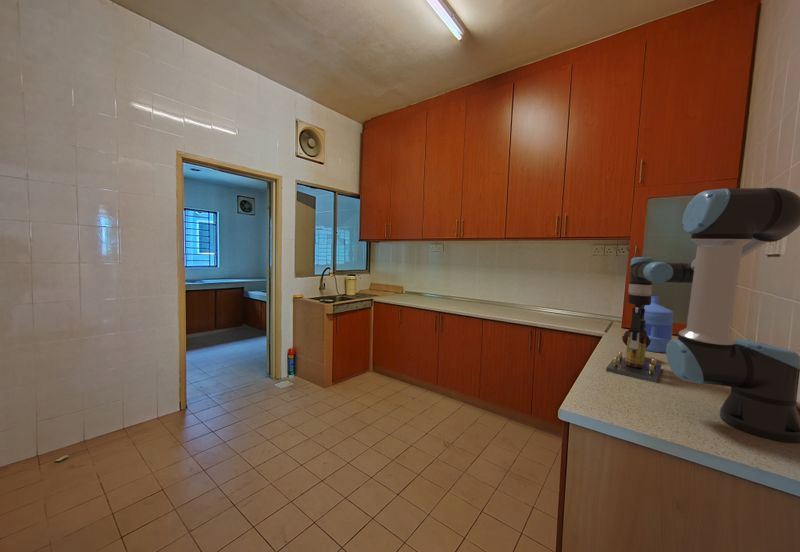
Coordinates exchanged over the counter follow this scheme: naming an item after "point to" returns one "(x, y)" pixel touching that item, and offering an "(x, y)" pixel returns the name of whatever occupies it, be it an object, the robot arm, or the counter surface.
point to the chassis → (635, 369)
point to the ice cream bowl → (625, 337)
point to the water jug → (658, 325)
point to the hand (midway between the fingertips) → (636, 345)
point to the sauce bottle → (637, 355)
